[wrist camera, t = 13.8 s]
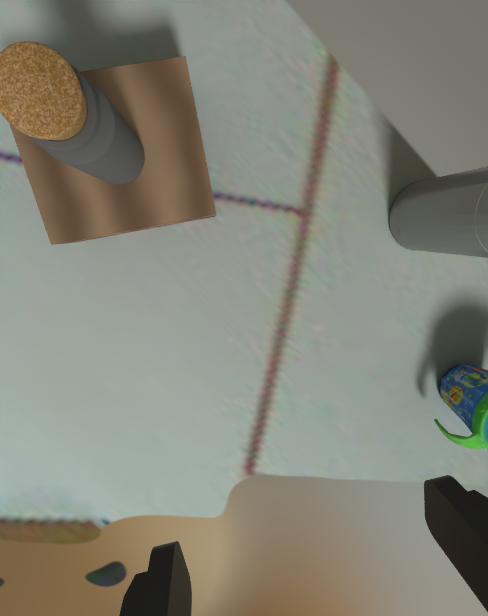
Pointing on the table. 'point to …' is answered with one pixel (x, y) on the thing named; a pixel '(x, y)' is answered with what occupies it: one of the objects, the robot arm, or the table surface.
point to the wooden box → (156, 171)
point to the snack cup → (467, 403)
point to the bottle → (67, 114)
